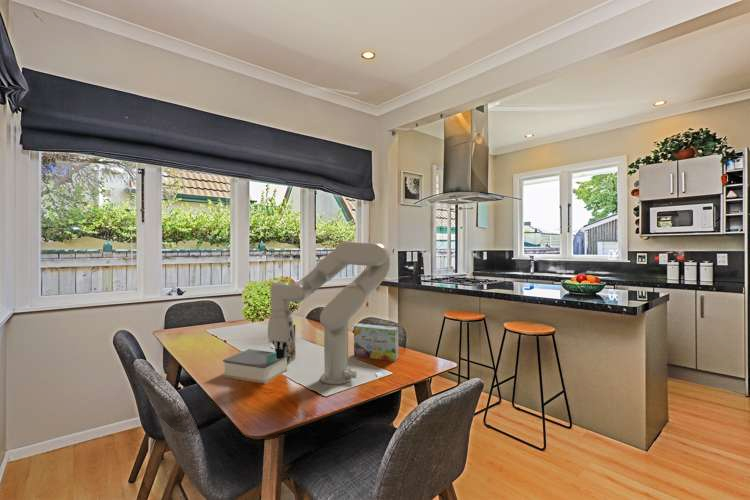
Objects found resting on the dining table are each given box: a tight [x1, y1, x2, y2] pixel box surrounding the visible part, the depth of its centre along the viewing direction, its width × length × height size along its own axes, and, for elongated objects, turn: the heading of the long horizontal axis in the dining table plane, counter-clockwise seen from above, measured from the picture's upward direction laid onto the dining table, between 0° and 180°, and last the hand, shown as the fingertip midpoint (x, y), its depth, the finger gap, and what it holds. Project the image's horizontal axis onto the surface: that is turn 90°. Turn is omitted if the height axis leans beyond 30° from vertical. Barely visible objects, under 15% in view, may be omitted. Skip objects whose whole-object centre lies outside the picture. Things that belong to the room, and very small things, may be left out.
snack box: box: [353, 323, 399, 362], centre depth 179 cm, size 21×6×15 cm, turn 68°
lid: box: [222, 348, 288, 368], centre depth 158 cm, size 21×16×4 cm
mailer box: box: [224, 357, 288, 384], centre depth 159 cm, size 20×15×6 cm
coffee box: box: [274, 324, 297, 365], centre depth 174 cm, size 9×6×16 cm
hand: (280, 357), depth 154 cm, fingers closed
